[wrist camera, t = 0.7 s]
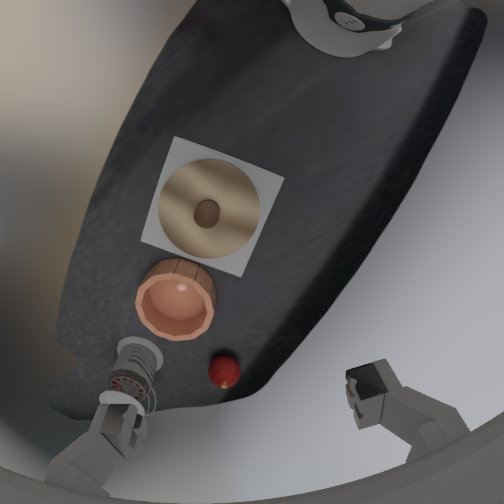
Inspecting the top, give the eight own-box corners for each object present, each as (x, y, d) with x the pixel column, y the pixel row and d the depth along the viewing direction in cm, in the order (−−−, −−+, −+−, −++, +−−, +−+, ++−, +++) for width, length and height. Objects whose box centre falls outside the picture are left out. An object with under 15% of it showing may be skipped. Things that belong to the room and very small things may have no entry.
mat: (175, 136, 40) (174, 136, 40) (284, 177, 44) (284, 177, 43) (141, 240, 46) (140, 240, 46) (241, 276, 49) (241, 277, 49)
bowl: (154, 248, 47) (145, 262, 41) (225, 273, 49) (224, 290, 44) (138, 307, 50) (130, 325, 45) (202, 329, 53) (199, 349, 48)
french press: (142, 329, 52) (100, 438, 29) (178, 370, 56) (159, 478, 33) (107, 345, 54) (62, 444, 30) (143, 383, 58) (116, 481, 34)
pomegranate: (229, 373, 57) (229, 402, 49) (204, 361, 56) (200, 391, 48) (245, 354, 55) (247, 384, 48) (219, 342, 54) (217, 372, 46)
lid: (178, 144, 41) (173, 145, 37) (275, 181, 43) (279, 185, 40) (147, 237, 45) (141, 246, 42) (237, 269, 48) (237, 280, 45)
